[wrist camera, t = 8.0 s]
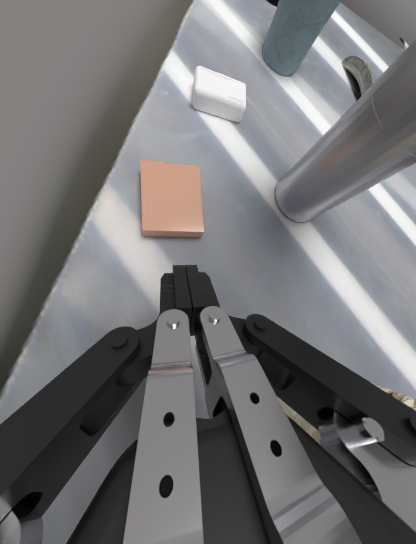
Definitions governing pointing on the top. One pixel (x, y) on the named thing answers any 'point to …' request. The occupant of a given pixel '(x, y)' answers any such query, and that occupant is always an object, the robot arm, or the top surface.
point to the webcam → (274, 2)
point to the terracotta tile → (171, 200)
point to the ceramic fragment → (359, 72)
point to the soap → (218, 95)
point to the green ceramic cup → (295, 32)
